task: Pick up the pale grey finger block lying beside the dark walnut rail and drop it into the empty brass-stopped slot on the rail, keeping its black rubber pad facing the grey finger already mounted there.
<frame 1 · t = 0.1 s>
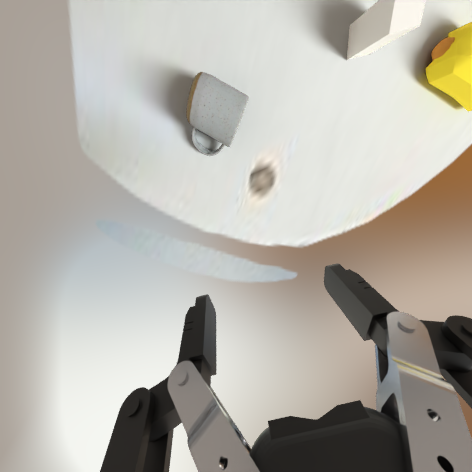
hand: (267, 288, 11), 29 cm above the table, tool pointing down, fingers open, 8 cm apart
ceramic mug: (215, 123, 31), on the table
yellow faceted pepper: (456, 75, 31), on the table
loose finger: (360, 40, 27), on the table
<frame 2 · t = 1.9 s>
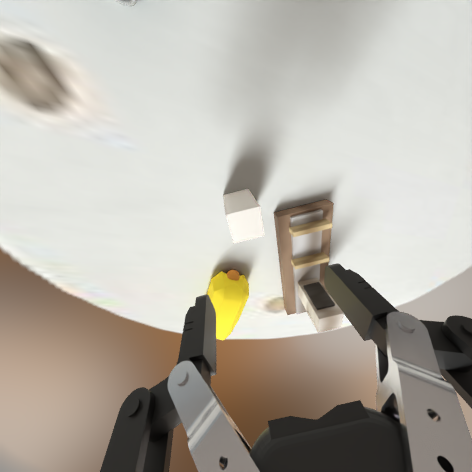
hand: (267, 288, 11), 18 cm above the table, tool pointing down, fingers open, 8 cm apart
finger rail: (301, 263, 34), on the table
yellow faceted pepper: (222, 295, 37), on the table
loose finger: (238, 203, 27), on the table
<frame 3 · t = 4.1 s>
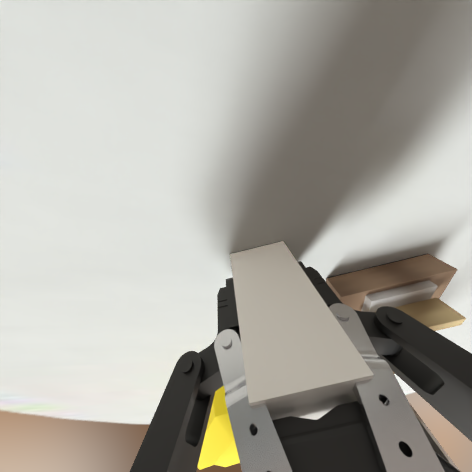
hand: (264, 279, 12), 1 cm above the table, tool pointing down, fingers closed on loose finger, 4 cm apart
finger rail: (355, 342, 21), on the table
yellow faceted pepper: (225, 382, 24), on the table
loose finger: (260, 267, 13), on the table, touching gripper
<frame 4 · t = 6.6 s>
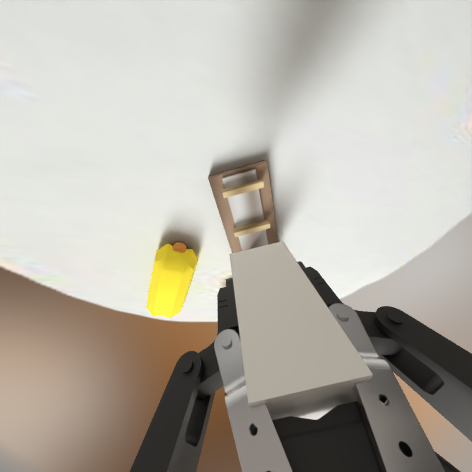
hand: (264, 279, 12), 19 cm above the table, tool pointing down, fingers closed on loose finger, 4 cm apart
finger rail: (251, 236, 33), on the table
yellow faceted pepper: (174, 272, 36), on the table
loose finger: (260, 267, 13), point 18 cm above the table, touching gripper
when the fingers open (5 cm above the table, at t = 9.1 s): loose finger drops 1 cm, resting on finger rail.
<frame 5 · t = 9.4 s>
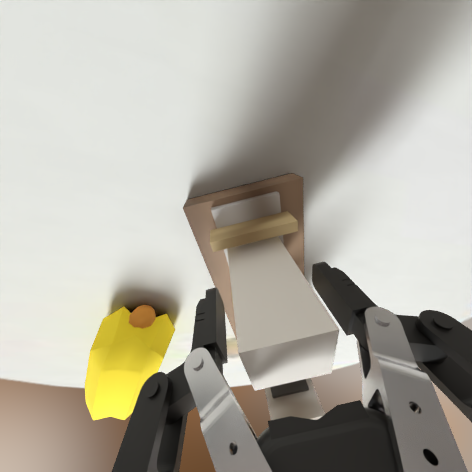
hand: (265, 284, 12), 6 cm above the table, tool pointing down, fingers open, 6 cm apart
finger rail: (260, 290, 20), on the table
yellow faceted pepper: (138, 337, 23), on the table
loose finger: (254, 256, 14), point 3 cm above the table, touching finger rail
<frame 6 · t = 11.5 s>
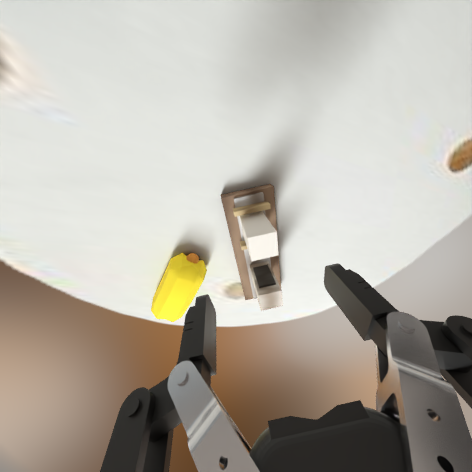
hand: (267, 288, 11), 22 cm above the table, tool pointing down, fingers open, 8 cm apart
finger rail: (254, 248, 36), on the table
yellow faceted pepper: (180, 278, 38), on the table
loose finger: (252, 223, 30), point 3 cm above the table, touching finger rail
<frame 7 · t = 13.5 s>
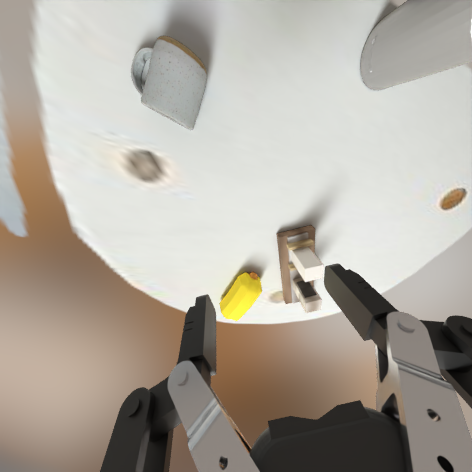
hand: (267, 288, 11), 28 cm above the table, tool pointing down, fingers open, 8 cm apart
finger rail: (295, 267, 49), on the table
ceramic mug: (172, 92, 27), on the table
yellow faceted pepper: (239, 289, 52), on the table
loose finger: (298, 252, 43), point 3 cm above the table, touching finger rail
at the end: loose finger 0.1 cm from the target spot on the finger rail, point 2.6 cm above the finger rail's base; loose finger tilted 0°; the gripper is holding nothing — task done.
